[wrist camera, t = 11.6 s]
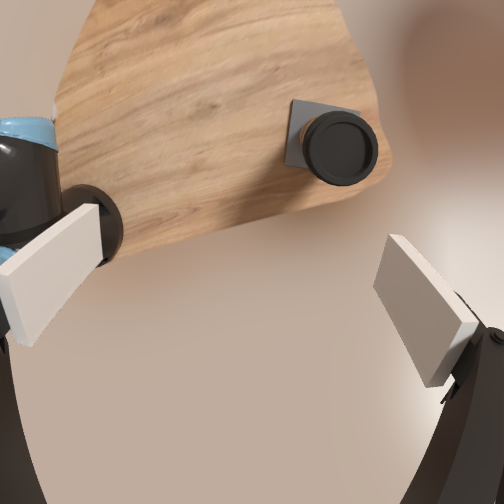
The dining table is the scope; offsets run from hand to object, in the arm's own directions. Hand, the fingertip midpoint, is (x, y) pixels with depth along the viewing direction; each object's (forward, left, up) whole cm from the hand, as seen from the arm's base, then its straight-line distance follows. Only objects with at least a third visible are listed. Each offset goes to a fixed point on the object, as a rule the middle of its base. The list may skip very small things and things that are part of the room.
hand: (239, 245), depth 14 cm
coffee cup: (+9, +3, -35) cm, 36 cm away
